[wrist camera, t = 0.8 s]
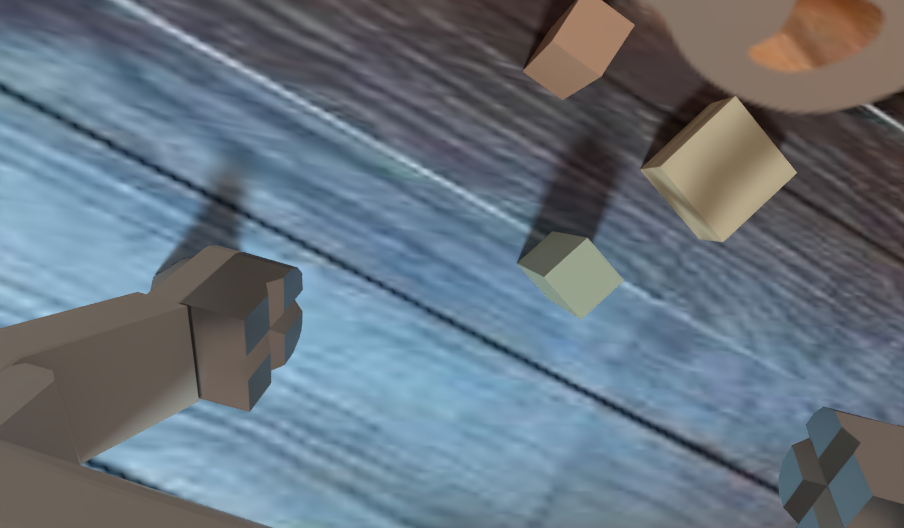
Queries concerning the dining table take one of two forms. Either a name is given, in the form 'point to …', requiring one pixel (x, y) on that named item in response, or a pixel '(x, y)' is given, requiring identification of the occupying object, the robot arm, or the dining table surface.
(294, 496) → the dining table surface
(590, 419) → the dining table surface
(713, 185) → the beech block
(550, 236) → the sage block
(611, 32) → the terracotta block
